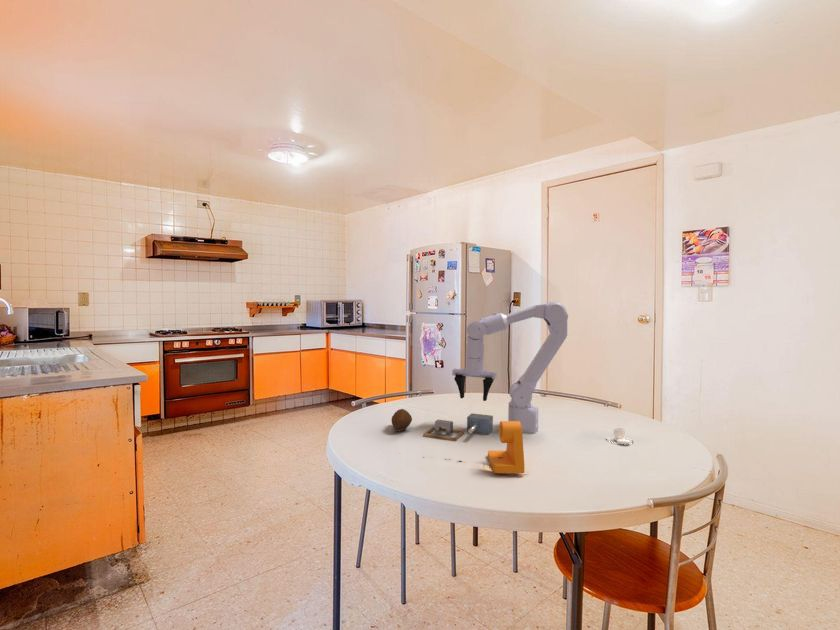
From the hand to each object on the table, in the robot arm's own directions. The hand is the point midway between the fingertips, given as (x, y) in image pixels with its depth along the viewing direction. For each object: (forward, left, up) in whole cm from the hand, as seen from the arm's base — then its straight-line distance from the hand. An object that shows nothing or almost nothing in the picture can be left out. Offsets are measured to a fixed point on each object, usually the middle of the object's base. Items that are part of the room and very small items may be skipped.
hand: (473, 399), depth 143 cm
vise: (-3, +8, -10) cm, 14 cm away
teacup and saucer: (-42, -7, -11) cm, 44 cm away
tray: (+6, +12, -10) cm, 17 cm away
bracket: (-16, +28, -11) cm, 34 cm away
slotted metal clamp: (+6, +13, -10) cm, 17 cm away
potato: (+22, +9, -11) cm, 26 cm away
